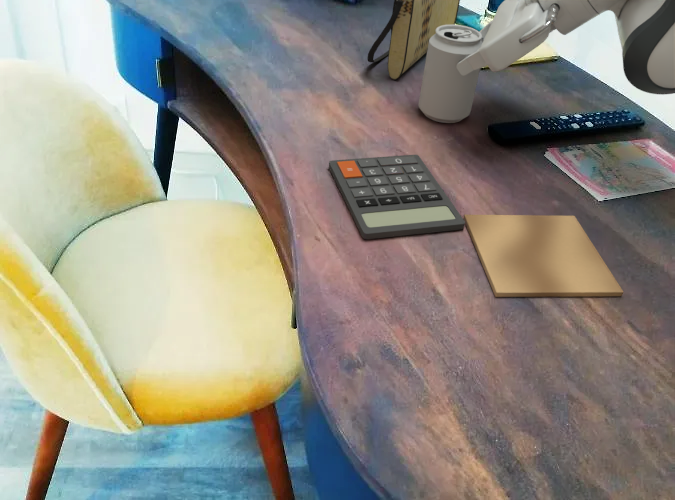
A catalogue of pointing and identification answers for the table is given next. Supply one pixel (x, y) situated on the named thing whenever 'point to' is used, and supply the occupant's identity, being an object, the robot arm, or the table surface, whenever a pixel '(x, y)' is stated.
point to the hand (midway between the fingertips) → (465, 57)
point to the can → (449, 74)
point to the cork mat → (539, 256)
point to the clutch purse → (413, 31)
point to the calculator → (394, 196)
